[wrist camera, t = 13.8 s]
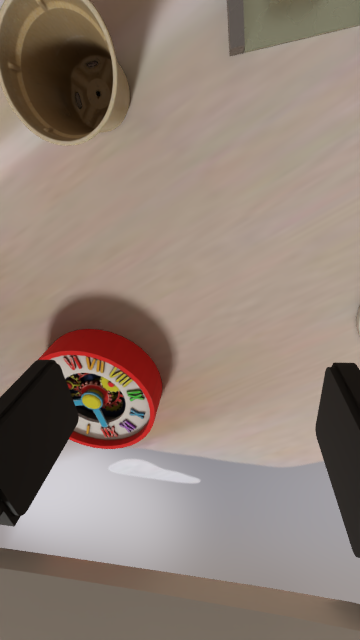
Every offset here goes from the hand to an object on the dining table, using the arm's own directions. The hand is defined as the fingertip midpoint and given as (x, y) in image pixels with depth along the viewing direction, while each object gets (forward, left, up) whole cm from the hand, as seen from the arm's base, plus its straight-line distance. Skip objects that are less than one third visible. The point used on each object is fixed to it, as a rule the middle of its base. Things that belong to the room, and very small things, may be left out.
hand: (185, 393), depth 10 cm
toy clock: (+20, +22, -27) cm, 40 cm away
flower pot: (+10, -15, -27) cm, 32 cm away
